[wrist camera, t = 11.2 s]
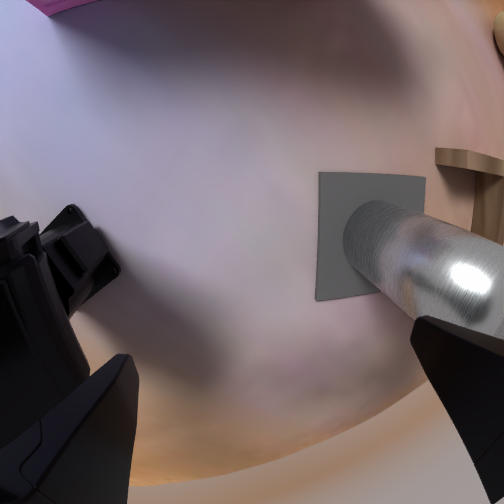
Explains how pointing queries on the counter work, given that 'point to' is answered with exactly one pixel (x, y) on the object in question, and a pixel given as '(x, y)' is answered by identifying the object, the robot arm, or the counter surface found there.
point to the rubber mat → (337, 214)
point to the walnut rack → (481, 189)
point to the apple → (499, 31)
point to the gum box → (56, 5)
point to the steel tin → (428, 265)
